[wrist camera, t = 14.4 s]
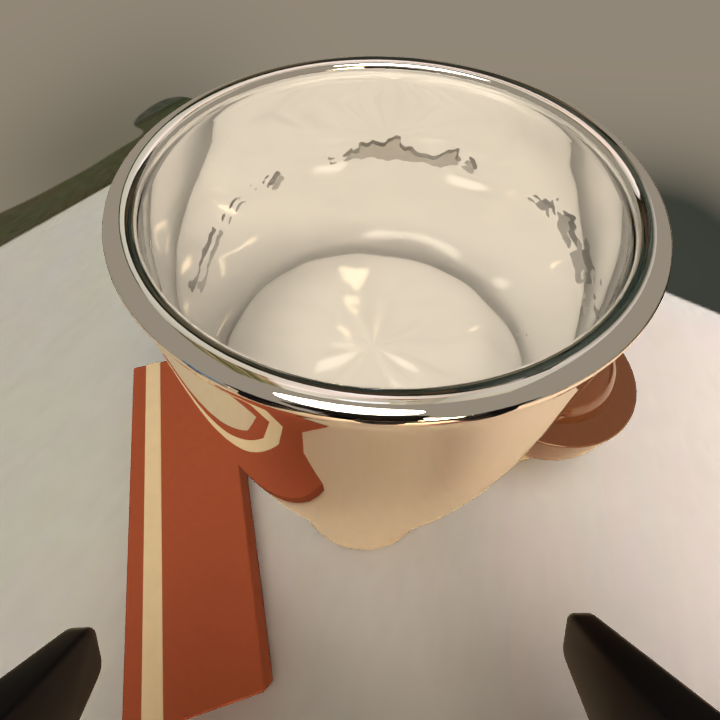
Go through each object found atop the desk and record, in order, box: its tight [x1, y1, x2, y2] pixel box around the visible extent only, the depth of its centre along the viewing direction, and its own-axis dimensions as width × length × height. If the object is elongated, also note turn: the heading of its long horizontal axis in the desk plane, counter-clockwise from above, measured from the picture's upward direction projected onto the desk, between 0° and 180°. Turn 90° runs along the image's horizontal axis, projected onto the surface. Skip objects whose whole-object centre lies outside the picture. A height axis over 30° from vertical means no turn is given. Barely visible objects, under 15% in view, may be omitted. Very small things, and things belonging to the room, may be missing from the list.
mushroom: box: [518, 353, 637, 462], centre depth 16 cm, size 6×6×7 cm
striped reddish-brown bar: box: [122, 361, 273, 720], centre depth 16 cm, size 4×14×2 cm, turn 16°
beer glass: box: [102, 56, 673, 550], centre depth 11 cm, size 7×7×15 cm
